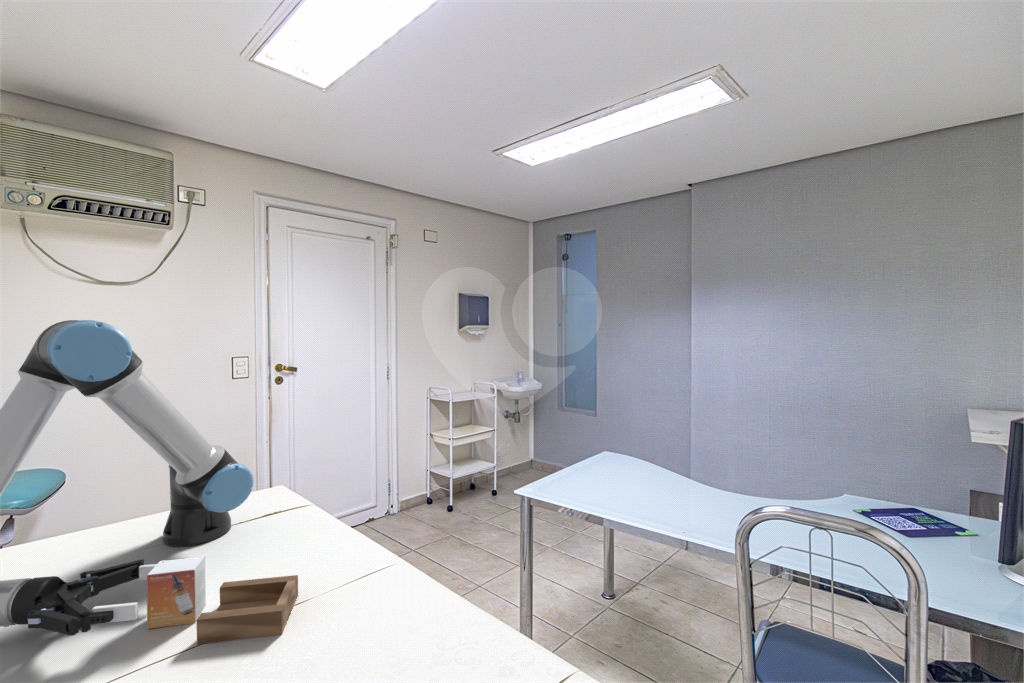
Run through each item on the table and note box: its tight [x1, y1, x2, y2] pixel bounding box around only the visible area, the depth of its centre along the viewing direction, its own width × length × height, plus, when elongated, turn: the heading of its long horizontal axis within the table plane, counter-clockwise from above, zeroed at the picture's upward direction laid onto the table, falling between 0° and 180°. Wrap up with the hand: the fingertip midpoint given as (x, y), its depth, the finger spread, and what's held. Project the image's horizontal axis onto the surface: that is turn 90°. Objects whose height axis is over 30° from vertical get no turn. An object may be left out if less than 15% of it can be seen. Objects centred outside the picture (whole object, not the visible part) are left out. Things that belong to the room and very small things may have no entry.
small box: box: [146, 555, 207, 630], centre depth 89 cm, size 8×6×10 cm
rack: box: [195, 574, 299, 645], centre depth 90 cm, size 12×14×4 cm
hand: (158, 588), depth 88 cm, fingers open, 13 cm apart
